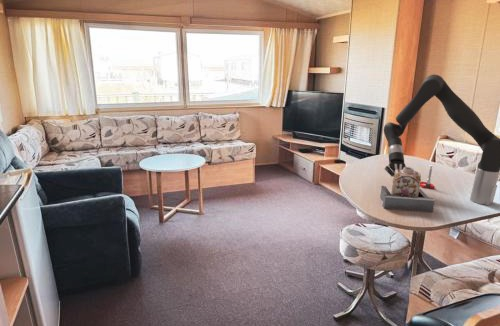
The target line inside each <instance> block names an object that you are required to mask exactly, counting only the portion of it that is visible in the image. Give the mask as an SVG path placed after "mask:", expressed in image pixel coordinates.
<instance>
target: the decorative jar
mask: <svg viewBox="0 0 500 326" xmlns="http://www.w3.org/2000/svg"><path fill="white" fill-rule="evenodd" d="M421 177H422V175H421V173H420V172H419V171H416V170H415V169H414V168H413V167H410V166H406V167H404V168H403V169H398V170H395V172H394V177H392V178H393V179H392V185H391V192H390V193H391V195H397V196H411V197H418V194H419V189H421V188H420V187H421V186H420V183H421V182H422V179H421Z"/></svg>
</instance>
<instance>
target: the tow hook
mask: <svg viewBox="0 0 500 326" xmlns="http://www.w3.org/2000/svg"><path fill="white" fill-rule="evenodd" d="M432 172H433V165H430V169H429V171H428V177H427V180H426V181H421V183H420V187H421V188H426V189H435V185H434V184H433V183H431V178H432Z"/></svg>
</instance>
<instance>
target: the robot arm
mask: <svg viewBox="0 0 500 326" xmlns="http://www.w3.org/2000/svg"><path fill="white" fill-rule="evenodd" d="M433 97H436V99H438V100H439V101H440V102H441V104H442V106H443V107H444V110H445V112H446V114H447V115H448V117H449V118H450V119H451V120H452V121H453V122H454V123H455V124H456V126H458V127H459V128H460V129H461V130H462V131H463V132H465V133H467V134H468V135H469V136H470V137H471V138H473V140H474V141H475V142H476V143H477V145H478V146H479V147H480V149H481V151H482V153H481V158H480V161H479V162H478V163H477V168H476V173H475V177H474V180H473V184H472V185H473V186H472V188H471V193H470V198H469V200H470V201H471V202H473V203H477V204H479V205H486V206H490V205H492V204H493V203H494V200H495V196H496V192H497V188H498V184H497V182H498V180H499V179H498V178H499V176H500V137H498V136H497V135H495V134H494V133H493V132H491V130H489V129H488V128H487V127H486V126H485V125H484V123H483V122H482V120H481V119H480V117H479V116H478V115H477V114H476V112H475V111H474V110H473V109H472V108H471V107H470V106H469V105H467V103H466V102H464V101H463V99H462V98H461V97H459V96H458V94H456V93H455V92H454V91H453V90H452V89H451V88H450V86H449V85H448V83H447V82H446V81H445V80H444V78H443V77H442V76H440V75H438V74H430V75H428V76H427V77H426V78H425V79H423V80H422V83H421V85H420V87H419V88H418V90H417V92H416V94H415V95H414V96H413V98H412V99H411V100H410V101H409V102H408V103H407V104H406V105H405V106H404V107H403V108H402V109H401V111H400V112H399V113H398V114H397V116H396V117H395V120H396V122H397V123H394V122H386V123H385V124H384V125H383V134H384V136H385V139H386V141H387V148H388V165H386V166H385V168H384V170H385V171H386V173H387V174H388V175H390V177H392V178H394V172H395V170H398V169H403V168H404V167H407V166H406V164H405V156H404V153H405V152H404V149H403V140H402V138H401V136H403V134H404V132H405V130H406V128H407V127H408V124H410V122H411V121H412V120H413V119H414V118H415V116H416V115H417V114H418V113H419V111H420V110H421V109H422V107H424V105H425V104H426V103H428V102H429V101H430V100H431V99H432V98H433Z"/></svg>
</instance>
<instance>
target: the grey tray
mask: <svg viewBox="0 0 500 326" xmlns="http://www.w3.org/2000/svg"><path fill="white" fill-rule="evenodd" d="M391 193H392V192H391V191H389V189H388V188H387V186H385V185H381V189H380V194H379V195H380V196H379V197H380V199H381V201H382V208H383V209H386V210H397V211H398V210H399V211H412V212H425V213H433V211H434V206H435V201H436V199H435V198H432V197H429V196H428V195H427V194H426V193H425V192H424V191H423V190H422V189H421V188H419V194H418V197H411V196H397V195H391Z"/></svg>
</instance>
